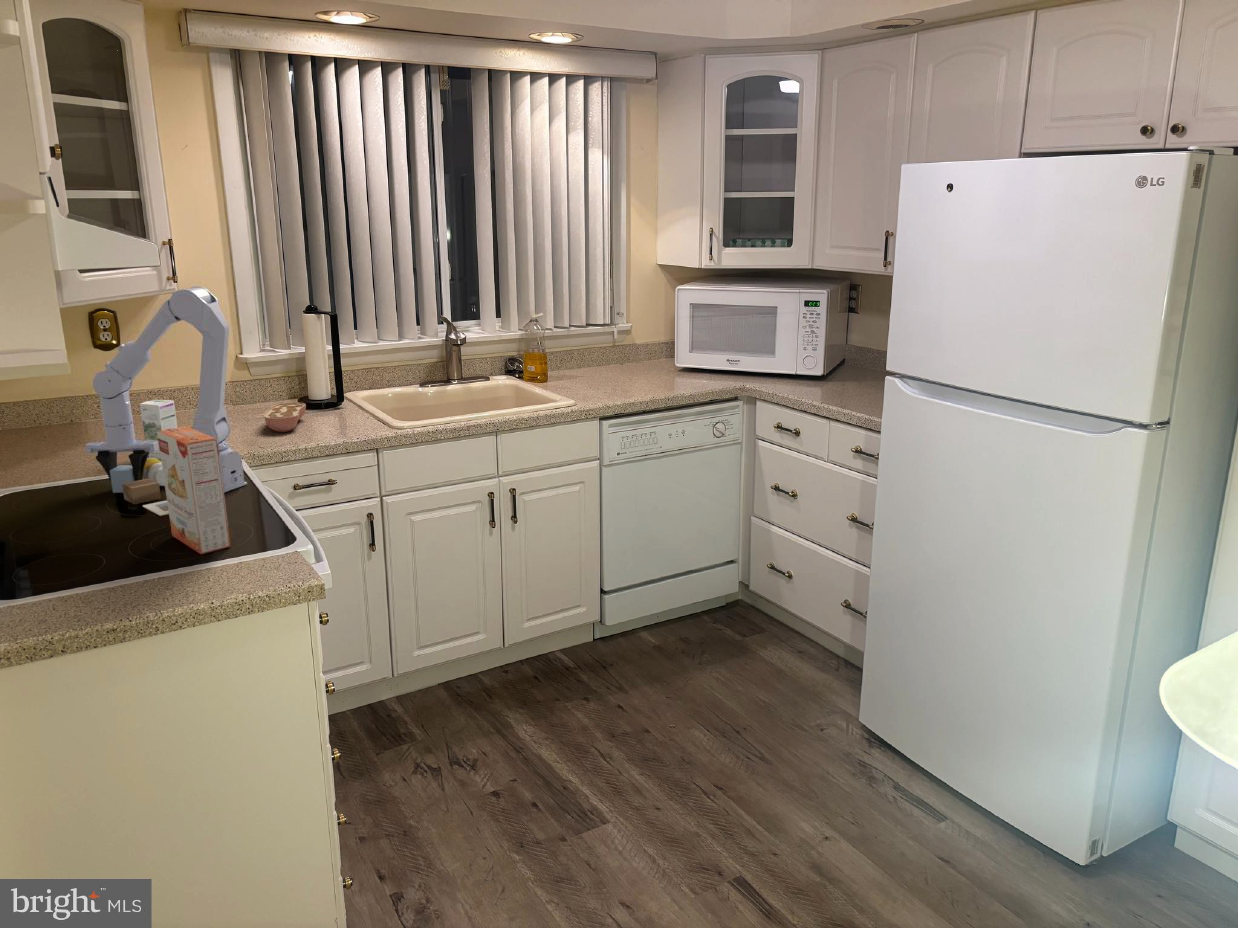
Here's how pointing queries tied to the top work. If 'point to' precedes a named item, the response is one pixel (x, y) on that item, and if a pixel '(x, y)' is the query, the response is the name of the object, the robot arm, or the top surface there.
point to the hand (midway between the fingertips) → (127, 483)
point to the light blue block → (121, 477)
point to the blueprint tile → (158, 508)
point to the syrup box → (157, 420)
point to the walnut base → (141, 491)
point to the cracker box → (194, 489)
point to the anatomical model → (284, 416)
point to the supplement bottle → (154, 471)
